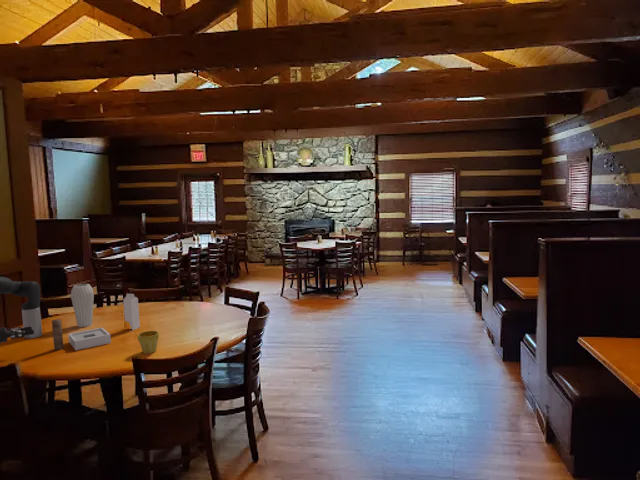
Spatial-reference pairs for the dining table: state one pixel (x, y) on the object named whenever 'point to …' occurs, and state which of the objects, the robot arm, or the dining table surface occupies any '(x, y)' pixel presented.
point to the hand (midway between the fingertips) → (32, 330)
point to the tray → (89, 338)
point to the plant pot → (148, 341)
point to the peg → (57, 334)
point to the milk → (131, 311)
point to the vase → (83, 304)
